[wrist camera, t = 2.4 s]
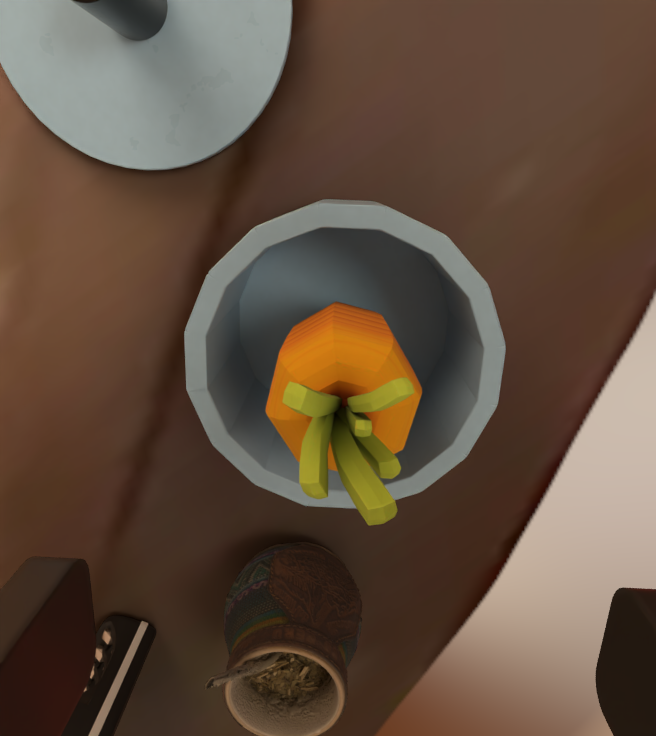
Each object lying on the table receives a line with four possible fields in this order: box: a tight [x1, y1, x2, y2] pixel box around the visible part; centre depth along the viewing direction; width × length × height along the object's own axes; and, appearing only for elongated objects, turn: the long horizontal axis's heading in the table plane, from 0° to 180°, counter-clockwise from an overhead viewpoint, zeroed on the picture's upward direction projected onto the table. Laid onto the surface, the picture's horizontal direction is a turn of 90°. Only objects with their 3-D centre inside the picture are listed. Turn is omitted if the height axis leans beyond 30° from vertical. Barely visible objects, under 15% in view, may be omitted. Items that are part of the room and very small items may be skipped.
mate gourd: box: [205, 542, 362, 736], centre depth 27 cm, size 7×8×10 cm
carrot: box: [266, 301, 422, 525], centre depth 20 cm, size 5×5×15 cm
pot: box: [184, 199, 506, 509], centre depth 24 cm, size 12×12×7 cm
